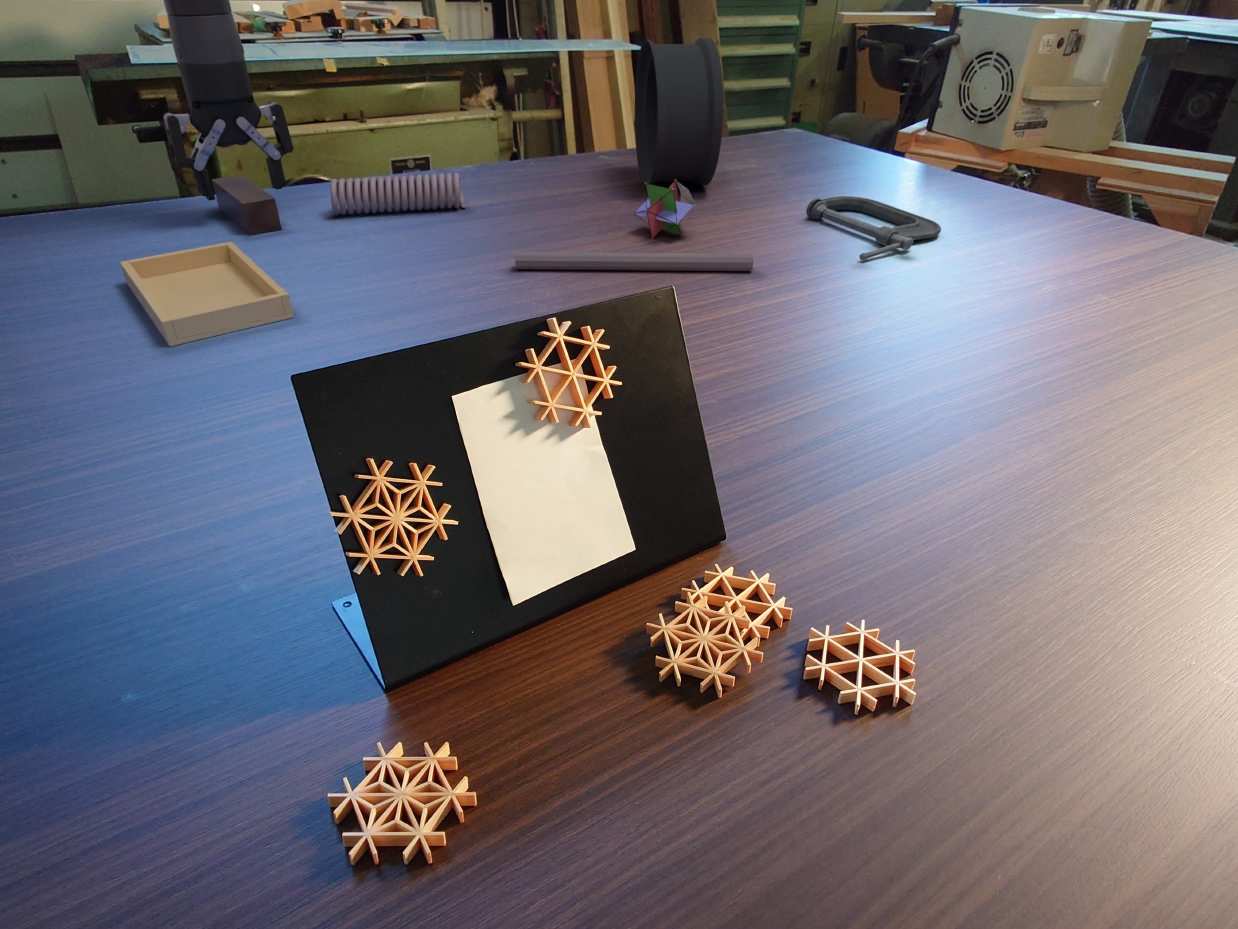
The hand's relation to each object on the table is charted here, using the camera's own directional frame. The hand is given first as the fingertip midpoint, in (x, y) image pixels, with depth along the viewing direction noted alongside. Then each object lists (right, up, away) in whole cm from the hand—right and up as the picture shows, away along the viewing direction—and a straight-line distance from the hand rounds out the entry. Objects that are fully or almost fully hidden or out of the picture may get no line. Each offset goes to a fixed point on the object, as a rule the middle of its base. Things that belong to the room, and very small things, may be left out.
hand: (244, 193), depth 106 cm
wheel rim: (+58, +8, +19) cm, 61 cm away
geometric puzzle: (+55, -6, -2) cm, 55 cm away
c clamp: (+82, -5, +1) cm, 82 cm away
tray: (+6, -18, -21) cm, 29 cm away
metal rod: (+51, -13, -12) cm, 54 cm away
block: (0, -3, +2) cm, 3 cm away
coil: (+19, -1, +6) cm, 20 cm away
